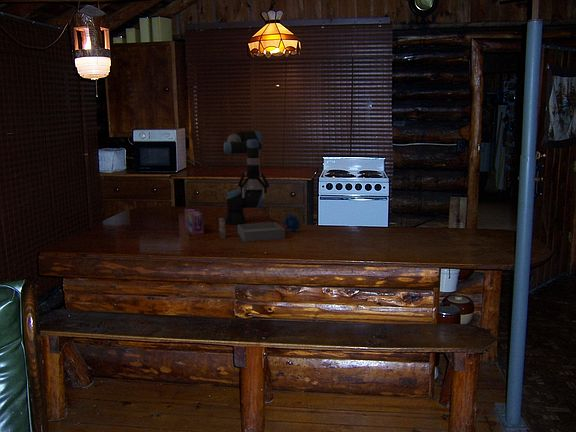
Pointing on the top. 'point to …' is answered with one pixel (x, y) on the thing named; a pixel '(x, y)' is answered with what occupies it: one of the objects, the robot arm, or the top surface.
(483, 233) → the top surface
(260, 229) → the box
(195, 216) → the gum box
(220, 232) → the peg
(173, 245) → the top surface
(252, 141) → the robot arm
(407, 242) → the top surface
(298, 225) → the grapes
